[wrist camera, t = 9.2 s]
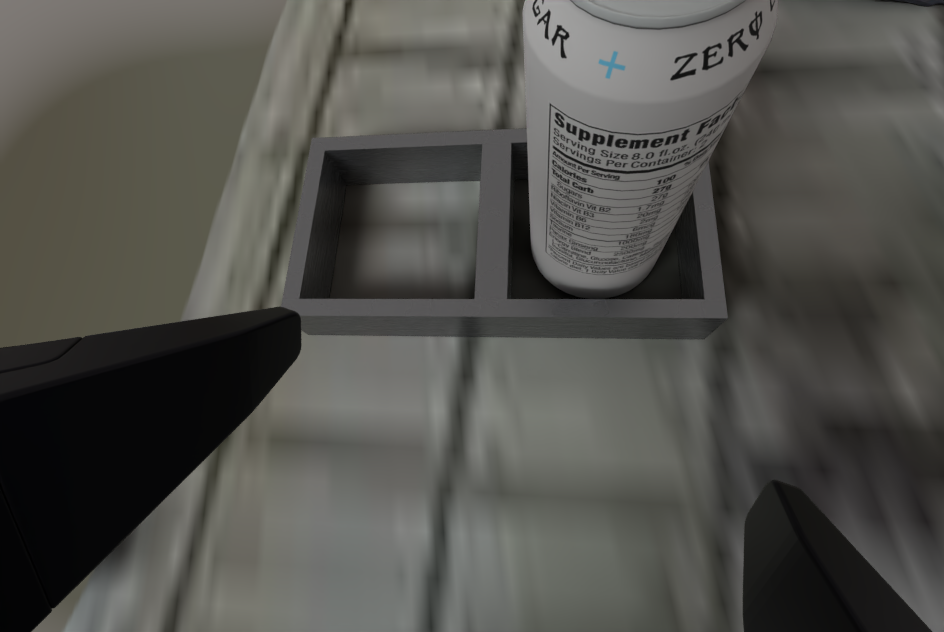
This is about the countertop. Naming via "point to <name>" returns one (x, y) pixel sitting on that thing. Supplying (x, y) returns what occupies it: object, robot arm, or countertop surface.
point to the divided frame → (481, 250)
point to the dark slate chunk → (924, 2)
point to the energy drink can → (626, 125)
